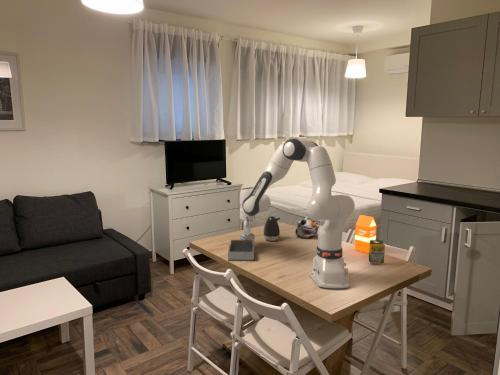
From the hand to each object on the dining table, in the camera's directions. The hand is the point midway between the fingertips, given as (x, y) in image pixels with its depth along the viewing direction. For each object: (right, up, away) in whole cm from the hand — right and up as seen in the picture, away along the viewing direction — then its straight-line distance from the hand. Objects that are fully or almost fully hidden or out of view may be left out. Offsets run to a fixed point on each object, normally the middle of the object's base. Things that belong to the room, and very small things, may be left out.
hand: (247, 238), depth 218 cm
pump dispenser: (+15, -4, +20) cm, 25 cm away
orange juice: (+68, -7, +1) cm, 68 cm away
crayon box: (+68, -10, -20) cm, 71 cm away
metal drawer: (-3, -8, -12) cm, 15 cm away
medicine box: (0, -6, +1) cm, 6 cm away
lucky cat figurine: (+38, -3, +27) cm, 47 cm away
